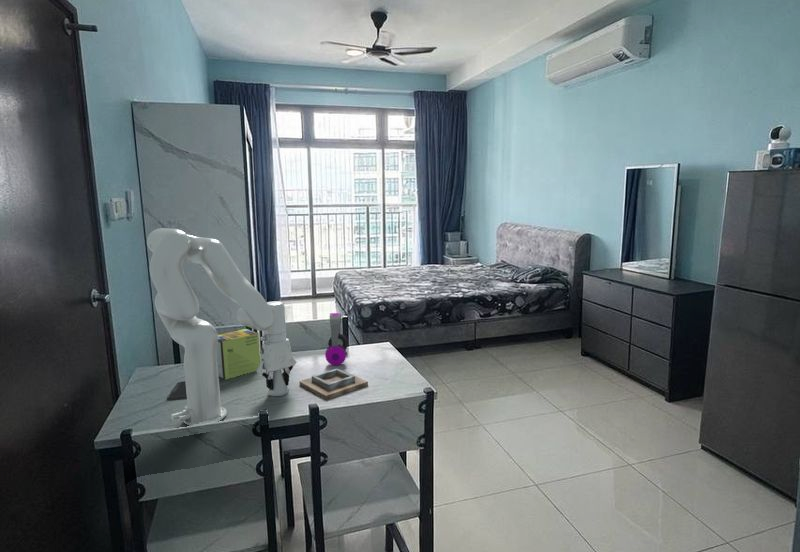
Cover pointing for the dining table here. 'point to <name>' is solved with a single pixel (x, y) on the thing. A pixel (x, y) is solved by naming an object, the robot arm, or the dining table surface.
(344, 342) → the headphones
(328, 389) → the holder
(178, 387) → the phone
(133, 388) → the dining table surface
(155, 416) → the dining table surface
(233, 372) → the protein box
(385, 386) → the dining table surface
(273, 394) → the flask
